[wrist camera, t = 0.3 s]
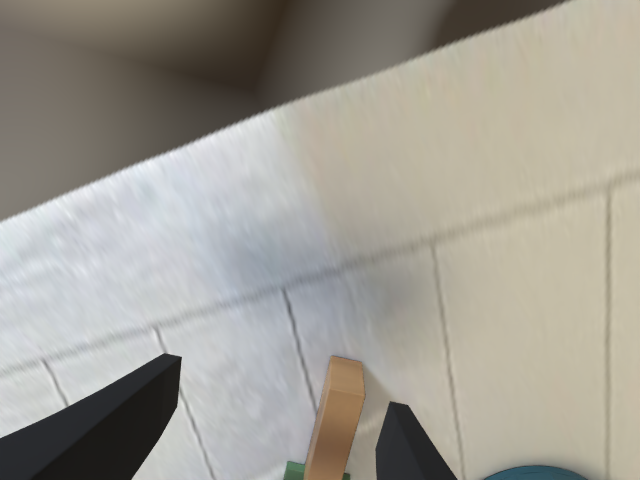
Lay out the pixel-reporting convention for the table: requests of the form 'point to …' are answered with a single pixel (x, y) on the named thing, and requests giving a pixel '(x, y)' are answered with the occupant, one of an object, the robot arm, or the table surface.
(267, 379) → the table surface
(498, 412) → the table surface
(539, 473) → the pot
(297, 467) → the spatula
